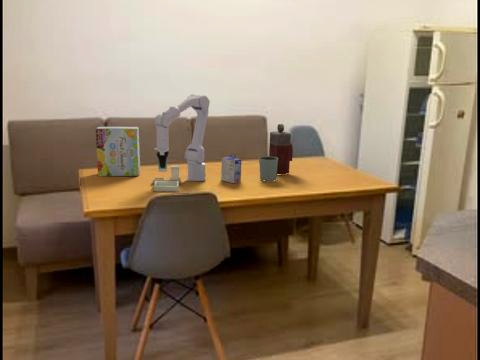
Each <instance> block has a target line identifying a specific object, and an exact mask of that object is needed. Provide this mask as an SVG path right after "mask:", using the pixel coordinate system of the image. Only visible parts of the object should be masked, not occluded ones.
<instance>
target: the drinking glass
mask: <svg viewBox="0 0 480 360" xmlns="http://www.w3.org/2000/svg"><path fill="white" fill-rule="evenodd" d="M258 162H259V180H260V179H261V180H265V181H274V180H276V181H277V177H278V175H277V164H278V158H277V157H271V156H269V155H268V156H267V155H266V156H260V157H258ZM261 180H260V181H261ZM265 181H264V182H265ZM274 182H275V181H274Z"/></svg>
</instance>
